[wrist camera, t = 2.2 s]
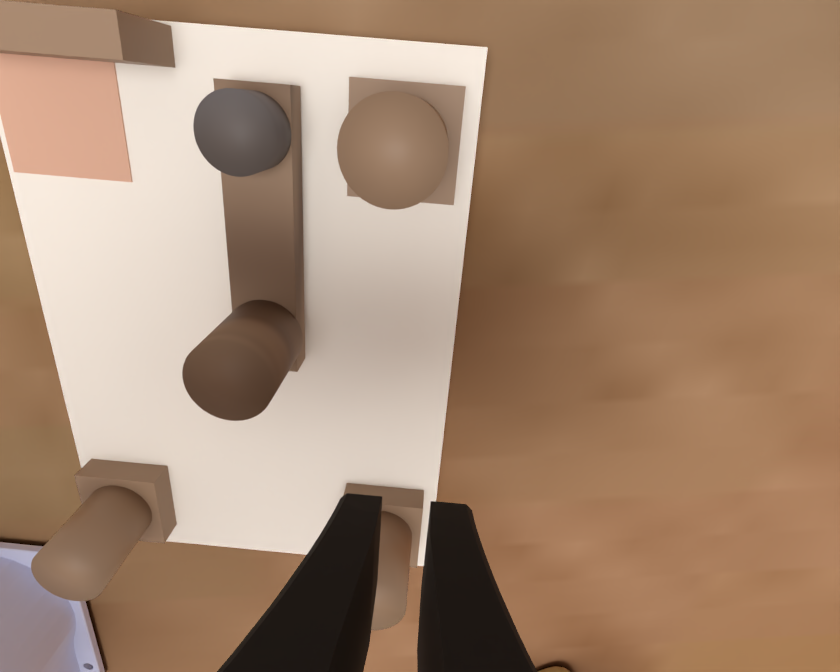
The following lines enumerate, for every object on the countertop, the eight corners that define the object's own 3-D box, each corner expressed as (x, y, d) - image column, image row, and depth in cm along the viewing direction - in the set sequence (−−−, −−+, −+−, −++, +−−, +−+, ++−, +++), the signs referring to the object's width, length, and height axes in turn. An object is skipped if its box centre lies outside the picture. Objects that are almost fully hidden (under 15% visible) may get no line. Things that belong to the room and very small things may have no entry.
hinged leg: (221, 79, 14) (142, 69, 10) (307, 86, 14) (258, 79, 10) (241, 352, 18) (187, 416, 14) (311, 358, 18) (275, 424, 14)
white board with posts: (429, 538, 23) (424, 661, 18) (118, 508, 23) (26, 621, 18) (484, 52, 15) (501, 26, 10) (11, 14, 15) (-205, -32, 10)
